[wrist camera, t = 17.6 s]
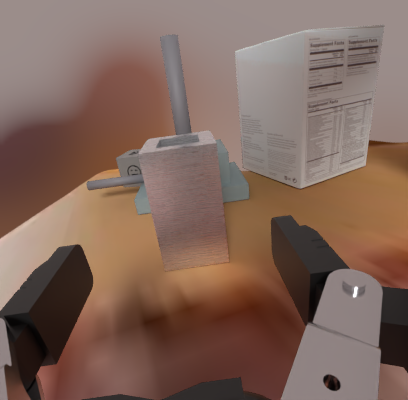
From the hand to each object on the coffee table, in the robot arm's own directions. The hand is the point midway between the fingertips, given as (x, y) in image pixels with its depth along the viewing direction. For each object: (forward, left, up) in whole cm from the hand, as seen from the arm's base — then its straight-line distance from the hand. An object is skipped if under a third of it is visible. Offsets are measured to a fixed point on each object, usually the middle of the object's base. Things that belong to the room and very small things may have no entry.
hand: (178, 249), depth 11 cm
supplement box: (-17, -29, -8) cm, 35 cm away
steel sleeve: (0, -11, -8) cm, 13 cm away
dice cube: (+8, -33, -8) cm, 35 cm away
